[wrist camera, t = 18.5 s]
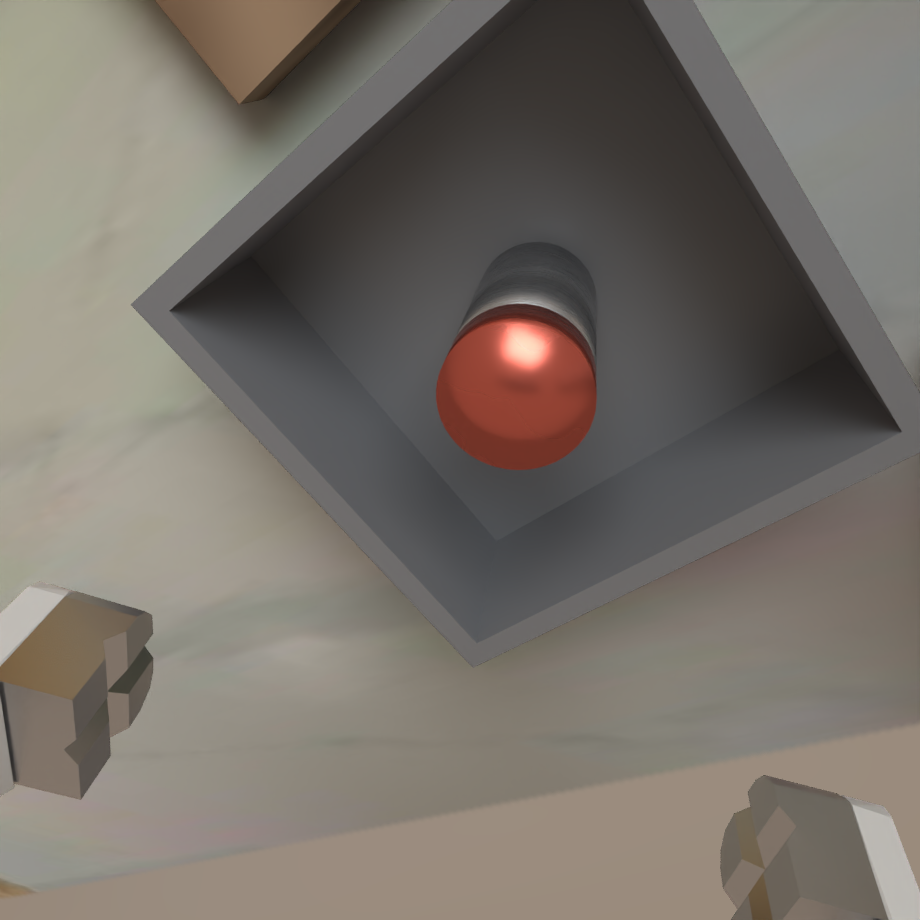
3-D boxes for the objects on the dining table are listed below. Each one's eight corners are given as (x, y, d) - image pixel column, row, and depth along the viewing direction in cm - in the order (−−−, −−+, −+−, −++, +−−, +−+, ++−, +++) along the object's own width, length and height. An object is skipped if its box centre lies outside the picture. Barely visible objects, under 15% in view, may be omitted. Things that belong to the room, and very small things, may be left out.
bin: (604, -98, 21) (607, -147, 15) (865, 344, 26) (946, 439, 20) (231, 244, 28) (130, 304, 22) (495, 549, 33) (472, 667, 27)
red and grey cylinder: (611, 258, 25) (617, 346, 18) (577, 369, 27) (571, 486, 20) (491, 228, 25) (452, 305, 18) (467, 341, 27) (423, 448, 20)
